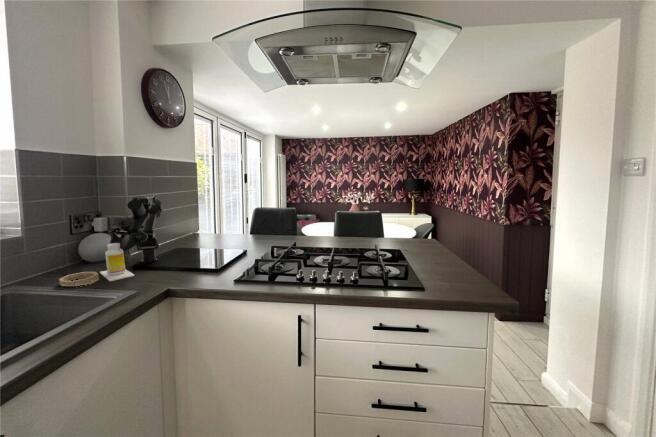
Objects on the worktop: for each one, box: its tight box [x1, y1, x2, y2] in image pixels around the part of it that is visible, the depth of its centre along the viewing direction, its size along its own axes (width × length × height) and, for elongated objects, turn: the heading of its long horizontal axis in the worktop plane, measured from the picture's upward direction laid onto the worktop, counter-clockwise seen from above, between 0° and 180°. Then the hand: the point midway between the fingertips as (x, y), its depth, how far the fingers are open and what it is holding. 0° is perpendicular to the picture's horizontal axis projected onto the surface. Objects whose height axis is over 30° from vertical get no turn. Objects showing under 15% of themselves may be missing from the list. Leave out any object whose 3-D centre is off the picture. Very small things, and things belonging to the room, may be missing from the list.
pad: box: [99, 268, 135, 282], centre depth 140 cm, size 16×9×1 cm, turn 47°
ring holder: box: [58, 271, 100, 287], centre depth 131 cm, size 12×12×2 cm
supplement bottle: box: [104, 242, 126, 275], centre depth 140 cm, size 7×7×13 cm
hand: (116, 250), depth 140 cm, fingers open, 9 cm apart
